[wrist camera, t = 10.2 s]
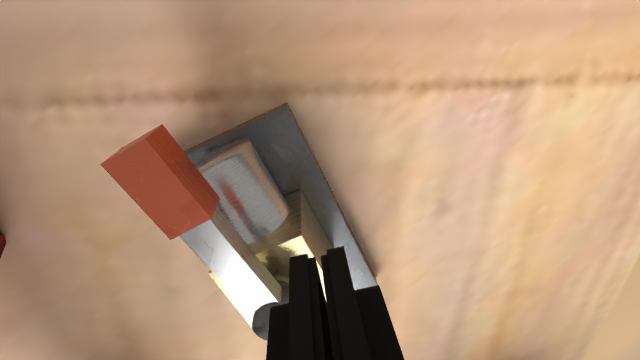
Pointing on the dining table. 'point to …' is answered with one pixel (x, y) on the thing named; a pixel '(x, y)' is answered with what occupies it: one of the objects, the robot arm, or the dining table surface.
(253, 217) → the valve body
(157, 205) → the valve lever
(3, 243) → the plant pot
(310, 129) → the dining table surface
